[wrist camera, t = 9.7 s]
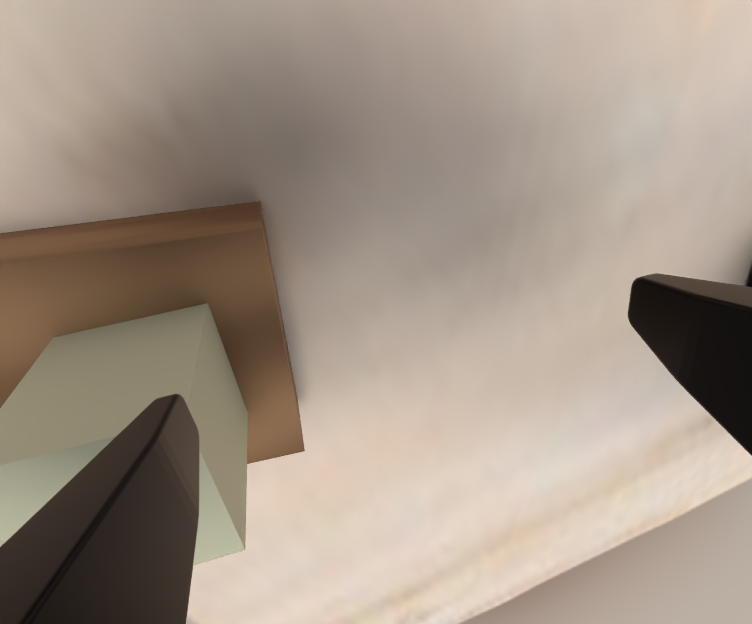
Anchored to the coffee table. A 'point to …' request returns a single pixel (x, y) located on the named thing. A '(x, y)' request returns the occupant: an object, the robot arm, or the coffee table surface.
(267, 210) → the coffee table surface
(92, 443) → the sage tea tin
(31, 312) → the walnut block
